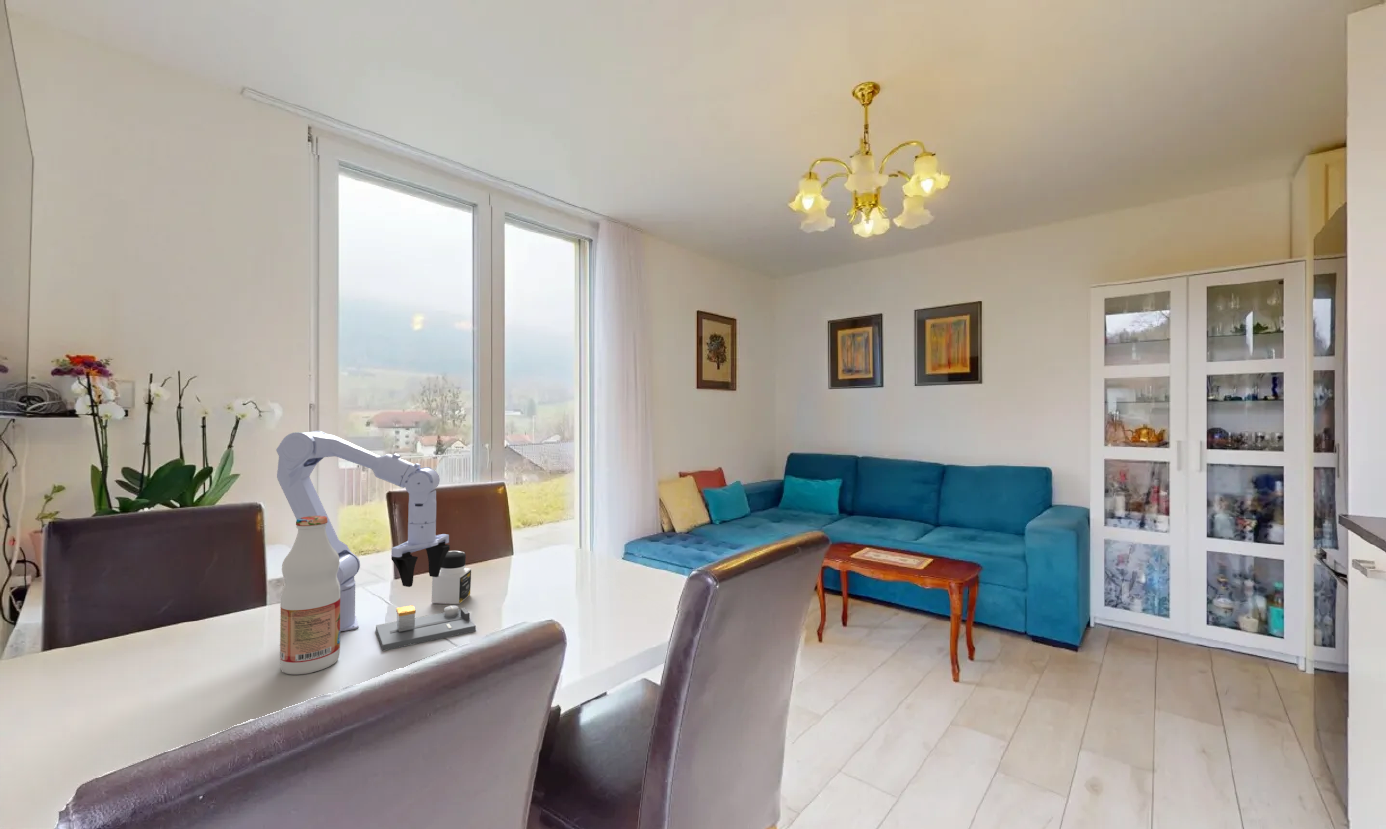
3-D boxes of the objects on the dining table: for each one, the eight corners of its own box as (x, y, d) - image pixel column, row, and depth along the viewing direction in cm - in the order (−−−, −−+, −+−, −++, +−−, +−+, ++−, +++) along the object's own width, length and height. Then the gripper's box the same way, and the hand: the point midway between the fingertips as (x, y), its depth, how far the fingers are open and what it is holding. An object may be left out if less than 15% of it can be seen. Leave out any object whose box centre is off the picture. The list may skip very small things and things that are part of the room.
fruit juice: (266, 671, 102) (268, 520, 102) (314, 650, 111) (315, 511, 111) (306, 679, 100) (308, 524, 99) (351, 656, 109) (353, 515, 108)
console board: (382, 650, 112) (383, 636, 112) (375, 630, 122) (376, 617, 121) (475, 631, 122) (475, 617, 122) (462, 614, 132) (462, 601, 132)
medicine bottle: (459, 604, 138) (461, 557, 138) (430, 603, 138) (432, 555, 138) (470, 595, 145) (472, 549, 145) (443, 594, 145) (445, 548, 145)
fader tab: (398, 632, 117) (398, 613, 117) (396, 626, 120) (396, 608, 120) (415, 629, 119) (415, 610, 119) (412, 623, 122) (412, 605, 122)
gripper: (409, 529, 118) (408, 593, 118) (459, 517, 131) (458, 574, 132) (384, 526, 120) (383, 588, 120) (436, 514, 134) (435, 570, 134)
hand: (421, 581), depth 126 cm, fingers open, 7 cm apart
